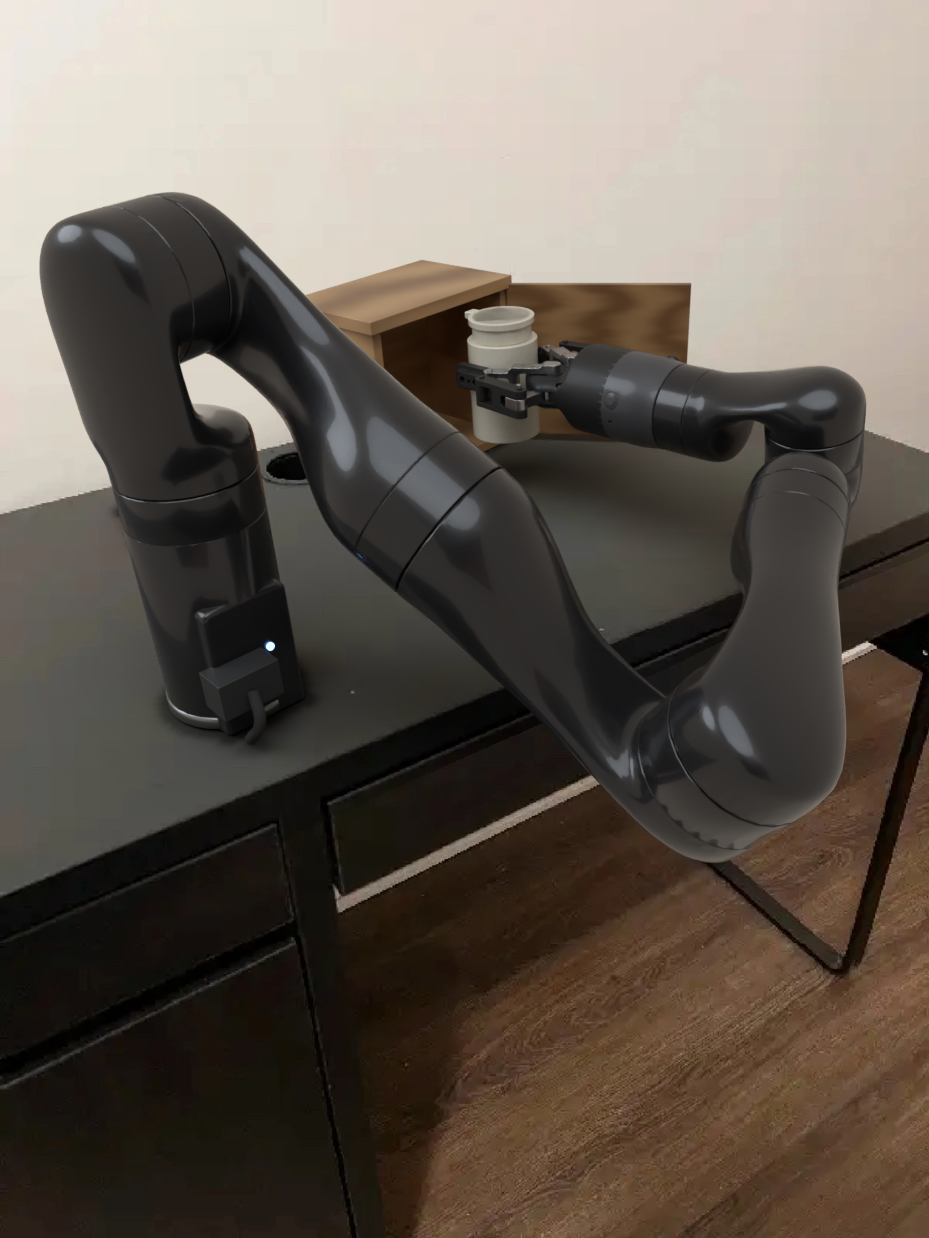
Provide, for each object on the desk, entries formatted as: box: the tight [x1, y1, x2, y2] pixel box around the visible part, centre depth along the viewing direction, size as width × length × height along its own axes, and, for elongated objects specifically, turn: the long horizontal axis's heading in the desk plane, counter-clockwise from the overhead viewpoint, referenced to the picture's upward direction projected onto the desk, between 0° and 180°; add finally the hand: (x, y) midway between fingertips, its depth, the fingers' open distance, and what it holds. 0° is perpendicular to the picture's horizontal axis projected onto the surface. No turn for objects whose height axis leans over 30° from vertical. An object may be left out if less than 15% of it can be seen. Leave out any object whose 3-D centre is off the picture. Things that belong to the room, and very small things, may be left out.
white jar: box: [465, 306, 540, 445], centre depth 95 cm, size 7×6×11 cm
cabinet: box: [305, 259, 692, 452], centre depth 103 cm, size 28×28×17 cm
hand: (485, 363), depth 96 cm, fingers closed on white jar, 6 cm apart
